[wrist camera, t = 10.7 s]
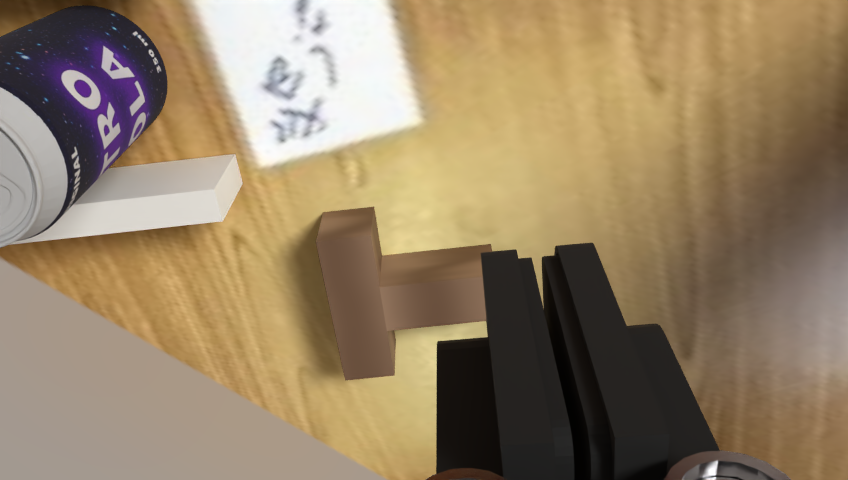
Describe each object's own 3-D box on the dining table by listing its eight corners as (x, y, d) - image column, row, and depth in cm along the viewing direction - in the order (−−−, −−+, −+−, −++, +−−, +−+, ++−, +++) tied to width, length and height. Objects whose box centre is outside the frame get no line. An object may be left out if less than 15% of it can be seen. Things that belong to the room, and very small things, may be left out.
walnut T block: (486, 194, 34) (493, 222, 32) (497, 329, 38) (503, 364, 35) (323, 212, 35) (315, 241, 32) (349, 344, 38) (345, 380, 36)
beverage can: (114, 153, 33) (-24, 294, 22) (12, 57, 31) (-195, 162, 20) (200, 79, 31) (94, 192, 21) (99, -28, 29) (-76, 38, 19)
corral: (171, -94, 28) (137, -87, 25) (242, 183, 34) (222, 221, 30) (-84, -61, 28) (-154, -50, 25) (28, 207, 34) (-16, 247, 31)
